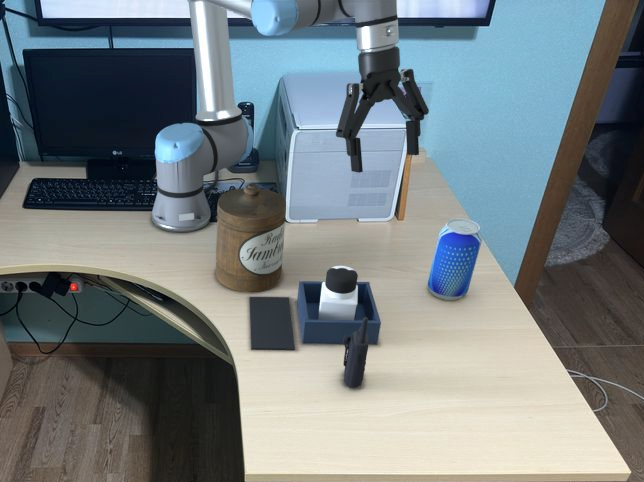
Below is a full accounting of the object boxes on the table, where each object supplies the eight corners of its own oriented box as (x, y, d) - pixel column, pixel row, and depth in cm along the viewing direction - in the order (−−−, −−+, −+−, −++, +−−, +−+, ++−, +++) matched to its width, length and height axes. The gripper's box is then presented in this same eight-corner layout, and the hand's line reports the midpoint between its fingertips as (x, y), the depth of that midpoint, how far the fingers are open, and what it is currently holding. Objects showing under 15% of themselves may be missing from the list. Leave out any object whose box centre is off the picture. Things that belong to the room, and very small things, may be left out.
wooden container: (253, 300, 145) (258, 207, 131) (202, 276, 153) (202, 186, 139) (294, 273, 153) (302, 183, 140) (244, 251, 161) (247, 164, 148)
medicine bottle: (352, 333, 135) (361, 282, 127) (316, 329, 136) (323, 279, 128) (353, 313, 140) (361, 263, 133) (319, 309, 141) (324, 260, 134)
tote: (297, 301, 144) (299, 281, 141) (365, 302, 144) (369, 281, 140) (302, 343, 133) (304, 321, 130) (377, 344, 132) (381, 322, 129)
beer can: (424, 298, 145) (440, 231, 135) (428, 278, 151) (443, 213, 141) (465, 305, 142) (484, 238, 132) (467, 284, 148) (485, 219, 138)
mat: (249, 298, 146) (249, 296, 145) (288, 298, 145) (288, 297, 145) (251, 349, 132) (251, 348, 131) (294, 350, 131) (294, 348, 131)
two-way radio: (362, 390, 122) (374, 324, 112) (337, 388, 122) (347, 321, 113) (361, 371, 126) (373, 305, 117) (337, 368, 127) (347, 303, 117)
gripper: (333, 62, 118) (343, 181, 128) (445, 34, 125) (448, 149, 134) (310, 63, 125) (322, 176, 134) (418, 36, 132) (423, 146, 141)
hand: (385, 163), depth 134 cm, fingers open, 13 cm apart
